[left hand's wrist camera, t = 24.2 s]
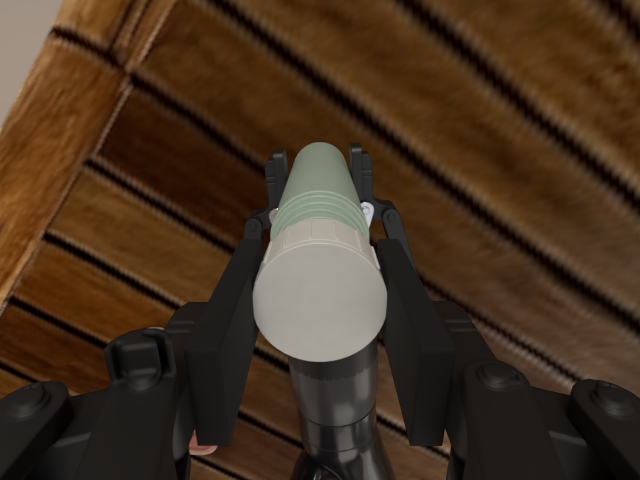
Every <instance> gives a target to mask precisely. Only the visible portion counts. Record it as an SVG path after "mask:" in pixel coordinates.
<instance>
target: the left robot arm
mask: <svg viewBox="0 0 640 480" xmlns="http://www.w3.org/2000/svg"><path fill="white" fill-rule="evenodd" d="M377 260H378V263H379V265H380V268H381V269H380V271H381V274H382V277H383V280H384V283H385V286H386V290H387V306H386V318H385V321H384V323H383V325H382V327H381V332H382V336H383V340H384V344H385V348H386V352H387V356H388V360H389V364H390V368H391V372H392V376H393V380H394V384H395V388H396V392H397V396H398V400H399V403H400V407H401V411H402V415H403V419H404V423H405V427H406V431H407V435H408V439H409V443H410V446H442V444H443V437H444V431H445V429H446V432H447V435H448V437H449V440H450V443H451V451H450V457H449V463H448V470H447V476H446V480H640V398H638V397H637V396H636V395H634V394H633V393H632V392H630V391H628V390H626V389H624V388H622V387H620V386H618V385H615V384H612V383H609V382H605V381H602V380H593V379H586V380H581V381H578V382H577V383H576V384H574V385H573V387H572V390H571V394H570V395H566V394H562V393H557V392H553V391H548V390H543V389H540V388H536V387H533V386H530V384H529V382H528V380H527V379H526V377H525V376H524V374H523V373H521V372H520V371H519V370H517V369H516V368H515V367H513V366H511V365H509V364H507V363H505V362H502V361H498V360H497V359H496V357H495V356H494V354H493V353H492V351H491V350H490V348H489V347H488V345H487V343H486V342H485V340H484V339H483V337H482V336H481V334H480V333H479V332H477V328H476V327H475V325H474V324H473V323H472V321H471V319H470V317H469V316H468V314H467V313H466V311H465V310H464V309H462V308H461V307H460V306H458V305H457V304H455V303H454V302H453V301H431V300H430V298H429V296H428V294H427V292H426V290H425V289H424V287H423V285H422V283H421V281H420V279H419V277H418V275H417V273H416V271H415V269H414V268H413V266H412V264H411V262H410V260H409V258H408V256H407V254H406V252H405V250H404V248H403V247H402V245H401V243H400V241H399V239H378V248H377ZM262 261H263V253H262V239H241V240H240V242H239V244H238V246H237V248H236V250H235V252H234V254H233V256H232V257H231V259H230V261H229V263H228V265H227V267H226V269H225V271H224V273H223V275H222V277H221V278H220V280H219V282H218V284H217V286H216V288H215V290H214V292H213V294H212V296H211V298H210V299H209V301H208V302H188V303H186V304H185V305H183V306H182V307H181V308H179V309H178V310H176V311H175V313H174V314H173V316H172V317H171V319H170V320H169V322H168V324H167V325H166V326H165V328H164V329H163V330H161V329H157V328H143V329H139V330H134V331H130V332H128V333H125V334H123V335H120V336H119V337H117V338H116V339H114V340H113V341H111V342H110V343H109V344H108V345H107V346H106V348H105V349H104V350H103V351H104V356H105V360H106V364H107V368H108V372H109V376H110V381H111V384H110V387H109V388H106V389H102V390H99V391H95V392H90V393H86V394H81V395H77V396H72V397H70V395H69V391H68V388H67V387H66V386H65V385H64V384H63V383H61V382H56V381H45V382H37V383H34V384H31V385H27V386H24V387H22V388H20V389H18V390H16V391H14V392H12V393H10V394H8V395H7V396H6V397H4V398H3V399H2V400H0V480H189V479H190V469H191V458H190V451H189V444H190V441H191V439H192V436H193V433H194V430H195V432H196V439H197V446H230V442H231V438H232V434H233V430H234V426H235V422H236V418H237V414H238V410H239V406H240V402H241V399H242V395H243V391H244V387H245V383H246V379H247V375H248V371H249V367H250V363H251V359H252V355H253V351H254V347H255V343H256V339H257V335H258V331H259V328H258V326H257V324H256V321H255V319H254V309H253V289H254V285H255V284H254V283H255V280H256V277H257V274H258V271H259V268H260V265H261V262H262Z"/></svg>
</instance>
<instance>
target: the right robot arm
mask: <svg viewBox="0 0 640 480" xmlns="http://www.w3.org/2000/svg"><path fill="white" fill-rule="evenodd" d="M349 154H350V175H351V178H352V181H353V184H354V187H355V190H356V192H357V195H358V198H359V201H360V204H361V207H362V209H363V212H364V215H365V218H366V221H367V224H368V228H369V226H370V223H371V220H372V219H374V220H378V221H382V224H383V227H384V230H385V233H386V236H387V239H399V241H400V243H401V245H402V247H403V248H404V250H405V252H406V254H407V256H408V258H409V260H410V262H411V264H412V266H413V268H414V269H415V271H416V268H415V265H414V262H413V258H412V255H411V252H410V248H409V245H408V241H407V238H406V235H405V231H404V228H403V225H402V221H401V218H400V215H399V213H398V211H397V209H396V208H395V206H394V205H393V203H392V202H391V201H389V200H384V201H383V200H380V199H377V198H375V197H374V196H373V181H372V160H371V158H370V155H369V153H368V152H367V151H362V148H361V145H360V143H350V144H349ZM265 175H266V182H267V191H268V198H269V205H268V206H266V207H264V208H262V209H256V210H254V211H252V213H251V215H250V218H249V219H248V220H247V222H246V224H245V230H244V237H243V239H262V243H263V236H264V230H265V229H267V228H269V227H272V223H273V220H274V218H275V215H276V212H277V209H278V206H279V204H280V201H281V198H282V195H283V192H284V189H285V187H286V184H287V181H288V178H289V177H288V168H287V159H286V150H285V148H281V149H275V150H274V151H273V158H269V159H268V160H267V162H266V166H265ZM416 273H417V272H416ZM288 362H289V370H290V377H291V383H292V387H293V391H294V394H295V397H296V402H297V410H298V418H299V426H300V433H301V438H302V442H303V445H304V448H305V449H304V450H303V451H302V452H301V454H300V455H299V457H298V459H297V461H296V463H295V466H294V468H293V471H292V474H291V477H290V480H396V479H395V475H394V471H393V468H392V465H391V462H390V460H389V457H388V455H387V452H386V450H385V447H384V445H383V442H382V439H381V436H380V434H379V431H378V429H377V424H376V388H377V380H378V358H377V335H376V337H375V338H374V339H373V340H372V341H371V342H370V343H369V344H368V345H367V346H365V347H364V348H363V349H361V350H360V351H358V352H357V353H354V354H352V355H350V356H348V357H345V358H342V359H339V360H334V361H327V362H313V361H306V360H301V359H298V358H295V357H292V356H290V355H288Z"/></svg>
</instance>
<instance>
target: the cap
mask: <svg viewBox="0 0 640 480" xmlns="http://www.w3.org/2000/svg"><path fill="white" fill-rule="evenodd" d="M380 269H381V268H380V265H379V263H378V260H377V257H376V254H375V251H374V248H373V246H372V247H371V246H370V244H369V243H368V241H367V240H366V239H365V238H364V237H363V236H362V235H361V234H360V233H359V231H358V230H355V229H354V228H352V227H350V226H348V225H346V224H344V223H341V222H339V221H337V220H330V219H310V220H305V221H301V222H298V223H296V224H293V225H291V226H290V227H289V226H288V227H287V228H286V229H285V230H283V231H282V232H281V233H279V234H278V235H277V236H276V237H275V238H274V240H273V241H270V243H269V246H268V249H267V251H266V253H265V256H264V258H263V261H262V262H261V265H260V268H259V271H258V274H257V277H256V280H255V283H254V284H255V285H254V289H253V309H254V319H255V321H256V324H257V326H258V328H259V329H260V331H261V333H262V334H263V335H264V337H265V338H266V339H267V340H268V341H269V342H270V343H271V344H272V345H273V346H274V347H276V348H277V349H278V350H280V351H282V352H283V353H285V354H287V355H290V356H292V357H295V358H298V359H301V360H306V361H313V362H327V361H334V360H339V359H342V358H345V357H348V356H350V355H352V354H354V353H357V352H358V351H360V350H361V349H363V348H364V347H365V346H367V345H368V344H369V343H370V342H371V341H372V340H373V339H374V338H375V337H376V335H377V334H378V332H379V331H380V329H381V327H382V325H383V323H384V321H385V318H386V306H387V290H386V286H385V283H384V280H383V277H382V274H381V271H380Z"/></svg>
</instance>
